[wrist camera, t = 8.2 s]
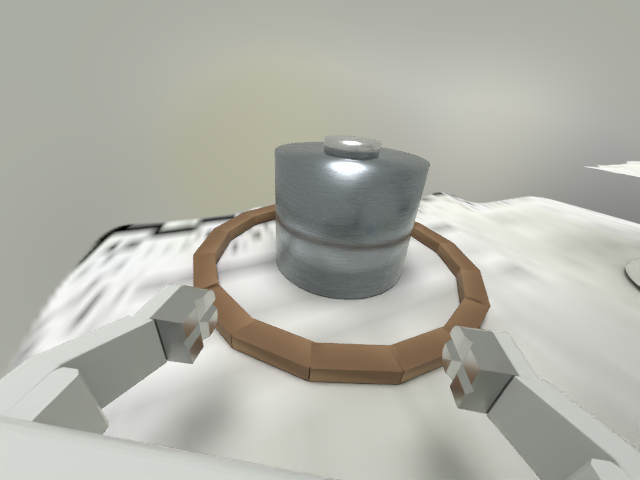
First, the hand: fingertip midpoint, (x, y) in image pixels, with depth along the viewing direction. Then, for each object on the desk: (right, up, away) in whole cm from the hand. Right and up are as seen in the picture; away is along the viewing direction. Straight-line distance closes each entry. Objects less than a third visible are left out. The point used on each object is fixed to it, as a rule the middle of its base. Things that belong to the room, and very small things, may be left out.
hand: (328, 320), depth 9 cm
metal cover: (+1, +1, +14) cm, 14 cm away
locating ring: (+1, +1, +14) cm, 14 cm away
